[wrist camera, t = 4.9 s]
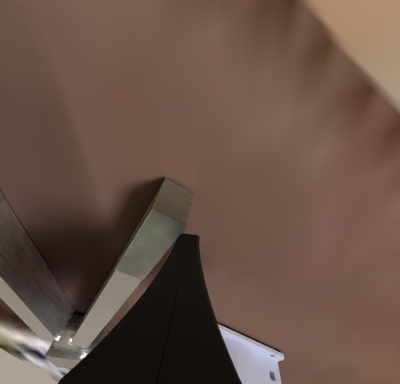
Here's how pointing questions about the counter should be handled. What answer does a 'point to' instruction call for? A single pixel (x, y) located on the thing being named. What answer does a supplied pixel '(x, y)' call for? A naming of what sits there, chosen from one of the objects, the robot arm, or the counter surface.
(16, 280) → the arm
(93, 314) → the bar
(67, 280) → the counter surface
